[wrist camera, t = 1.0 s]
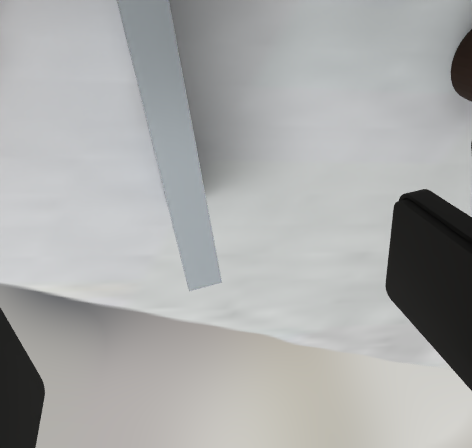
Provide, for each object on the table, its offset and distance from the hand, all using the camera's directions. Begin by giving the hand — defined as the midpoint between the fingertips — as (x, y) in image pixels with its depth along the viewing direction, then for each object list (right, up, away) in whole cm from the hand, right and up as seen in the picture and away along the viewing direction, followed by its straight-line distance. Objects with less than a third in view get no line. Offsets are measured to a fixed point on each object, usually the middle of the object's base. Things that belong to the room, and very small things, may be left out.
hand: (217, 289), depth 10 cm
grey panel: (-5, +11, +19) cm, 22 cm away
